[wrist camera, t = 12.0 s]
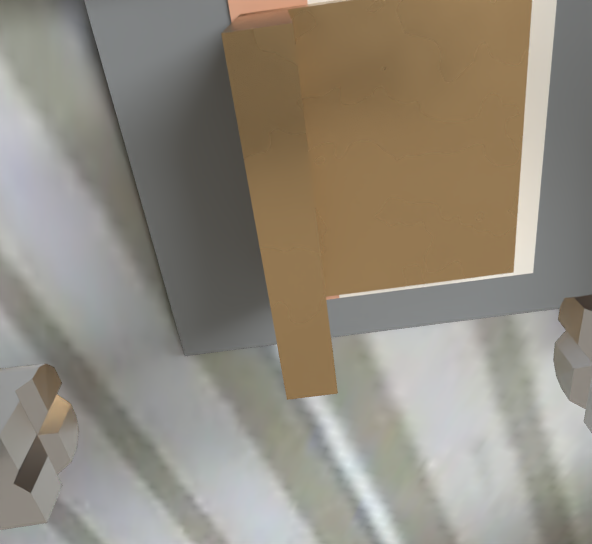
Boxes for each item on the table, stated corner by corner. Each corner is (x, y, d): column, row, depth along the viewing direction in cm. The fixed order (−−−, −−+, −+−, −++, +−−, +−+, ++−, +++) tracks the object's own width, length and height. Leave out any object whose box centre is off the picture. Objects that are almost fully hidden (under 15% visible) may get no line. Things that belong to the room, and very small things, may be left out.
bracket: (283, 282, 22) (287, 399, 16) (240, 14, 17) (220, 33, 11) (499, 254, 22) (586, 362, 16) (514, -27, 17) (647, -29, 11)
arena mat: (60, -101, 16) (53, -103, 16) (765, -210, 16) (783, -217, 15) (186, 349, 24) (184, 357, 24) (657, 289, 24) (666, 296, 23)
